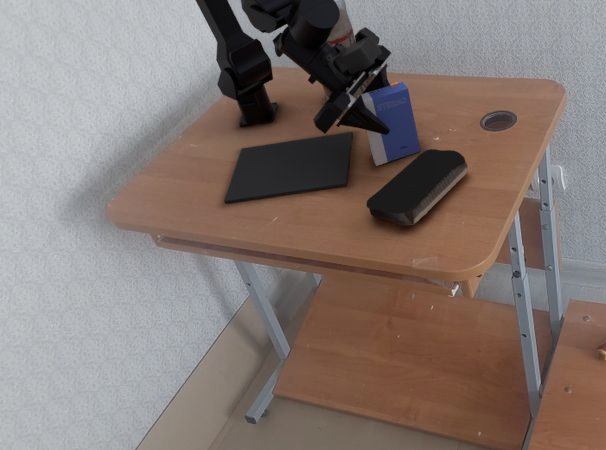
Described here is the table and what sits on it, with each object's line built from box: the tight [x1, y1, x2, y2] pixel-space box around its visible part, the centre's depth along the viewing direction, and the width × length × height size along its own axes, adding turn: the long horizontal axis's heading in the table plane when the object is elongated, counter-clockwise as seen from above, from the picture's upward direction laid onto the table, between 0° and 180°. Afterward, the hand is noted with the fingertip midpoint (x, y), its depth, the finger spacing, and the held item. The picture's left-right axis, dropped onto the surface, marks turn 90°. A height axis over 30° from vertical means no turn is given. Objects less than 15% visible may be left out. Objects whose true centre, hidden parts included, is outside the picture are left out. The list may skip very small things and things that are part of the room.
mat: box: [223, 131, 354, 205], centre depth 118 cm, size 15×20×1 cm
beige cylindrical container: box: [322, 0, 366, 101], centre depth 127 cm, size 8×8×20 cm
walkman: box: [357, 81, 422, 167], centre depth 112 cm, size 8×3×12 cm, turn 110°
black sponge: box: [365, 148, 468, 226], centre depth 105 cm, size 16×8×4 cm, turn 144°
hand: (396, 122), depth 111 cm, fingers closed on walkman, 6 cm apart
